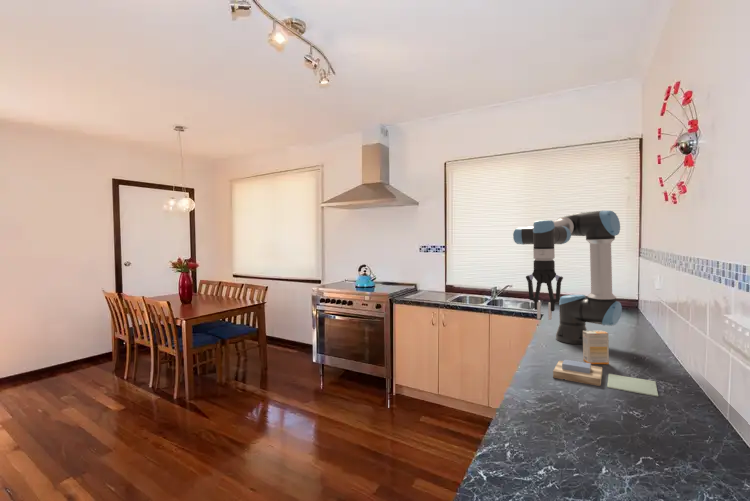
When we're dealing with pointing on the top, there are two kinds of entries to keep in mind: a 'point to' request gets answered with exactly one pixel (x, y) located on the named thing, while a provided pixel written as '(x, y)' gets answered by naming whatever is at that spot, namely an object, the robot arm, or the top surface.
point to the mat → (632, 384)
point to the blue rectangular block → (576, 366)
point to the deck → (579, 375)
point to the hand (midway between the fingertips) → (544, 318)
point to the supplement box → (595, 347)
